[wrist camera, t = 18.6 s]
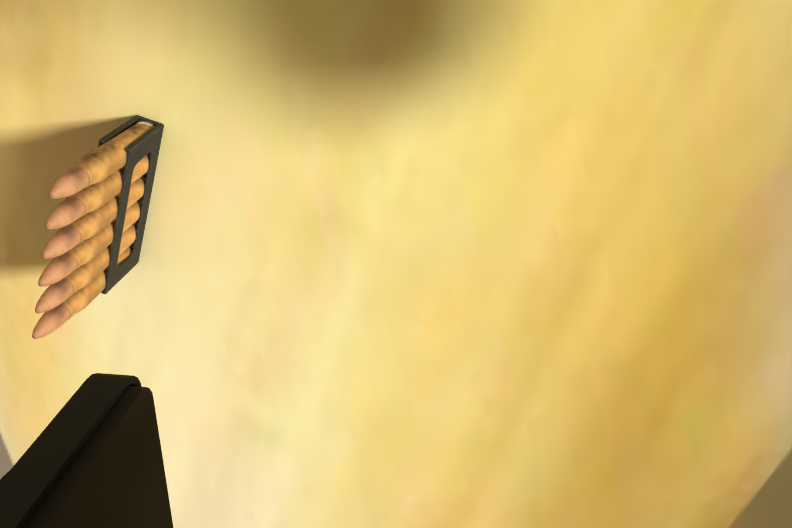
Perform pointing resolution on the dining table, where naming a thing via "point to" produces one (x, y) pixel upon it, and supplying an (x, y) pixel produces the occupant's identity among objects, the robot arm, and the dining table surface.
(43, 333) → the ammunition clip
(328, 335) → the dining table surface
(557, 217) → the dining table surface
